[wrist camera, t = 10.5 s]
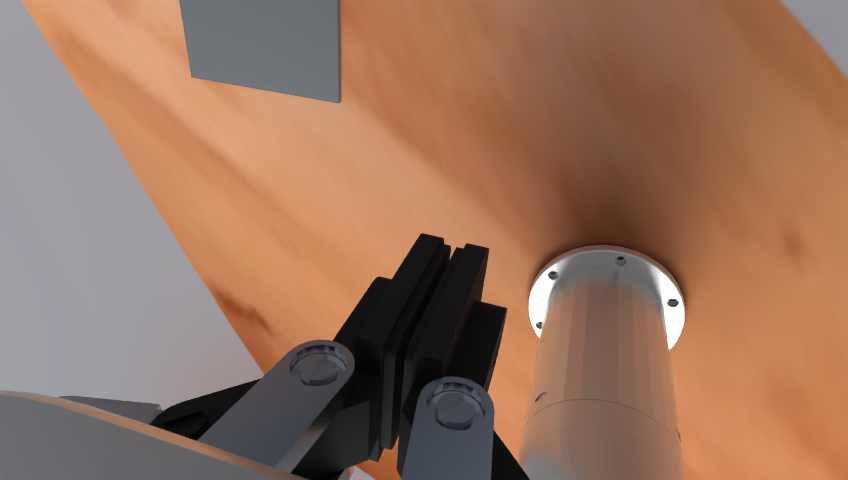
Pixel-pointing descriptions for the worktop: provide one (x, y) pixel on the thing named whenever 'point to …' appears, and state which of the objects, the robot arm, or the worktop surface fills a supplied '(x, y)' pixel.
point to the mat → (266, 44)
